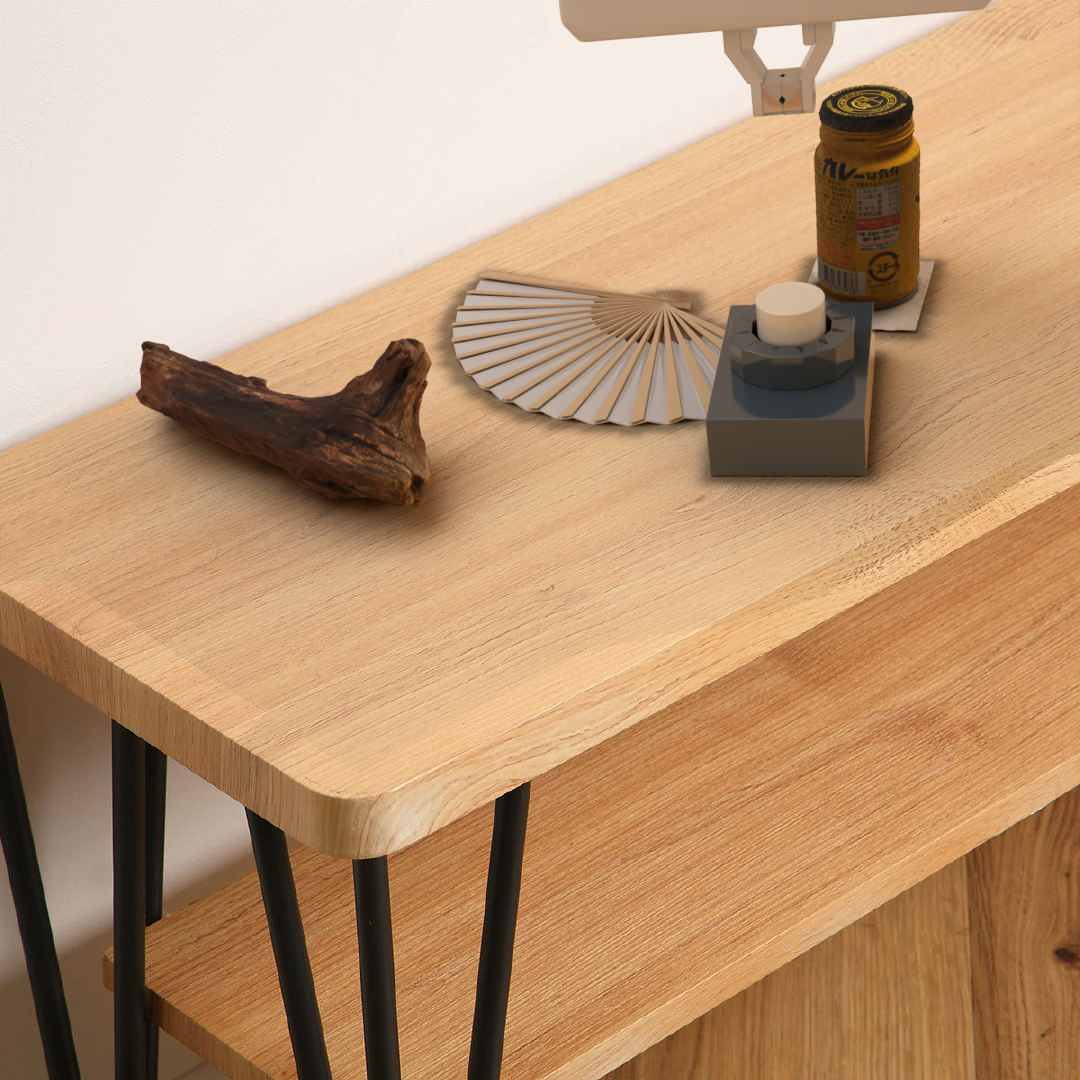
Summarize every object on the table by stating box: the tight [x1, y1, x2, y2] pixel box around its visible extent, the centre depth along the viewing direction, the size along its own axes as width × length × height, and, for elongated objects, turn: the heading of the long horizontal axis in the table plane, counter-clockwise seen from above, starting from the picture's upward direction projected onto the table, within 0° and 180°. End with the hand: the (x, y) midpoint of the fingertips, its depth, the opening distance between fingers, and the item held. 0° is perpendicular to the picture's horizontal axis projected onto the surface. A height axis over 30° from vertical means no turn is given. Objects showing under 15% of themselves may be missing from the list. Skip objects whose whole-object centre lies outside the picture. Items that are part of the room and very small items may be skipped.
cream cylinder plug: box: [754, 281, 826, 346], centre depth 85 cm, size 4×4×2 cm
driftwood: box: [135, 337, 433, 508], centre depth 89 cm, size 23×8×8 cm, turn 57°
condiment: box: [807, 84, 935, 332], centre depth 95 cm, size 7×8×12 cm
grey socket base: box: [705, 299, 876, 477], centre depth 87 cm, size 8×12×6 cm, turn 168°
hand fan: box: [451, 270, 726, 427], centre depth 97 cm, size 26×1×15 cm
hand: (785, 110), depth 79 cm, fingers closed
